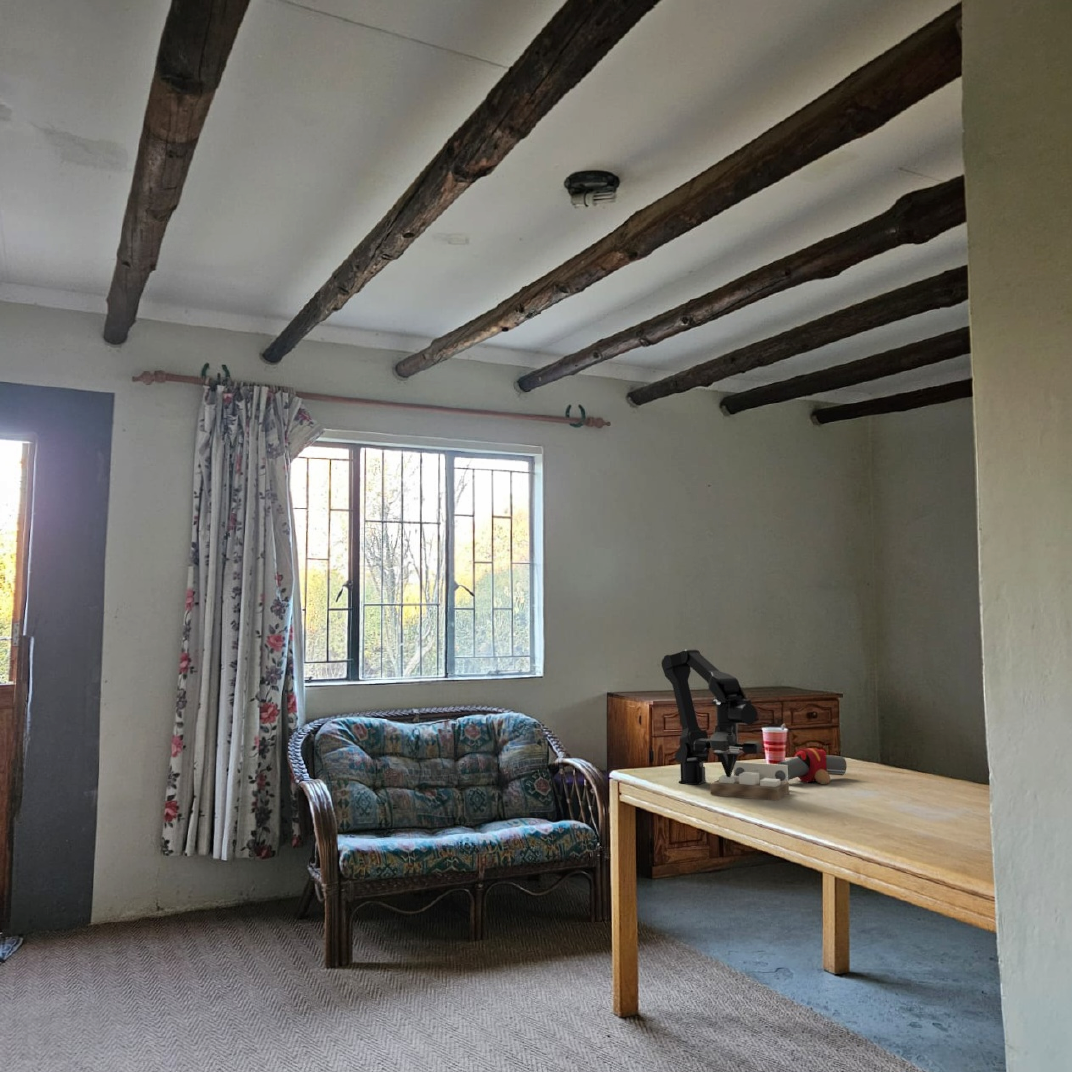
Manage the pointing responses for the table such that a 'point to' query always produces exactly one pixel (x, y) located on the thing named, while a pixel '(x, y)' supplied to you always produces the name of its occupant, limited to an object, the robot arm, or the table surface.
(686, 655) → the robot arm
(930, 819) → the table surface
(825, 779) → the toy
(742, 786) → the board
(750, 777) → the button mid
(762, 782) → the button right
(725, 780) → the button left
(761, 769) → the card
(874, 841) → the table surface
